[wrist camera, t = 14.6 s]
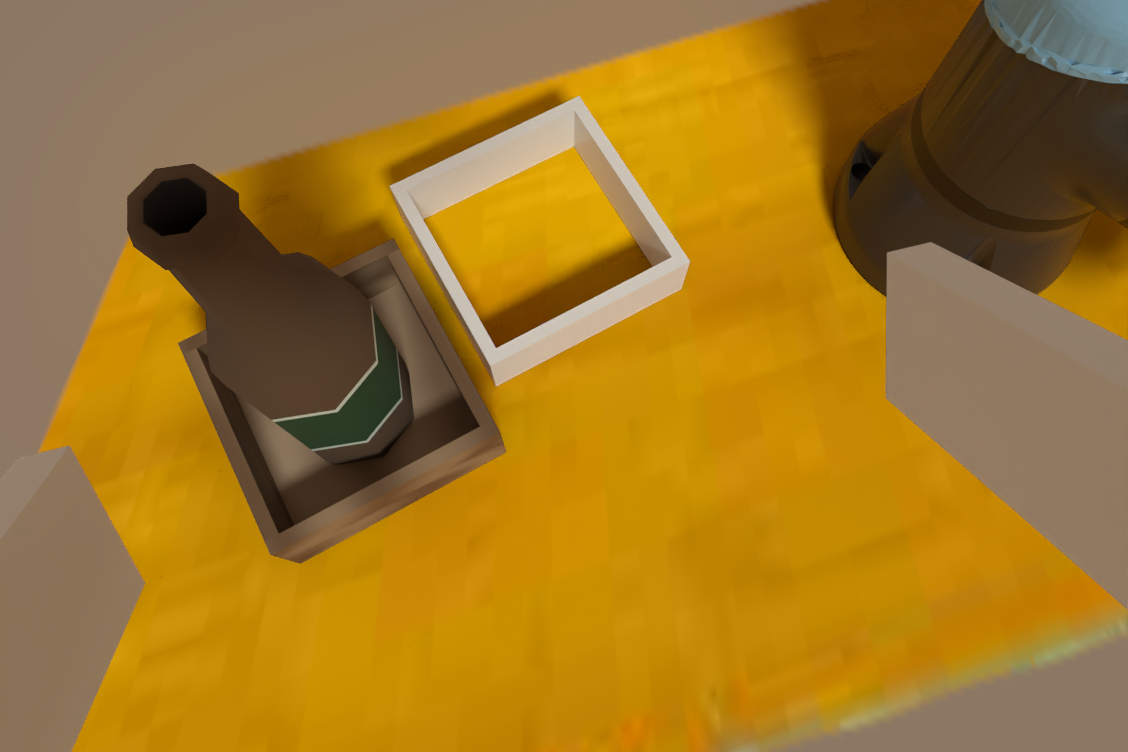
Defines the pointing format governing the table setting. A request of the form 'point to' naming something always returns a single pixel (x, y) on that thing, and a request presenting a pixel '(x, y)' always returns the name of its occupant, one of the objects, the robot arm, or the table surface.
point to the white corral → (508, 159)
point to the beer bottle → (276, 319)
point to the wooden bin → (369, 487)
